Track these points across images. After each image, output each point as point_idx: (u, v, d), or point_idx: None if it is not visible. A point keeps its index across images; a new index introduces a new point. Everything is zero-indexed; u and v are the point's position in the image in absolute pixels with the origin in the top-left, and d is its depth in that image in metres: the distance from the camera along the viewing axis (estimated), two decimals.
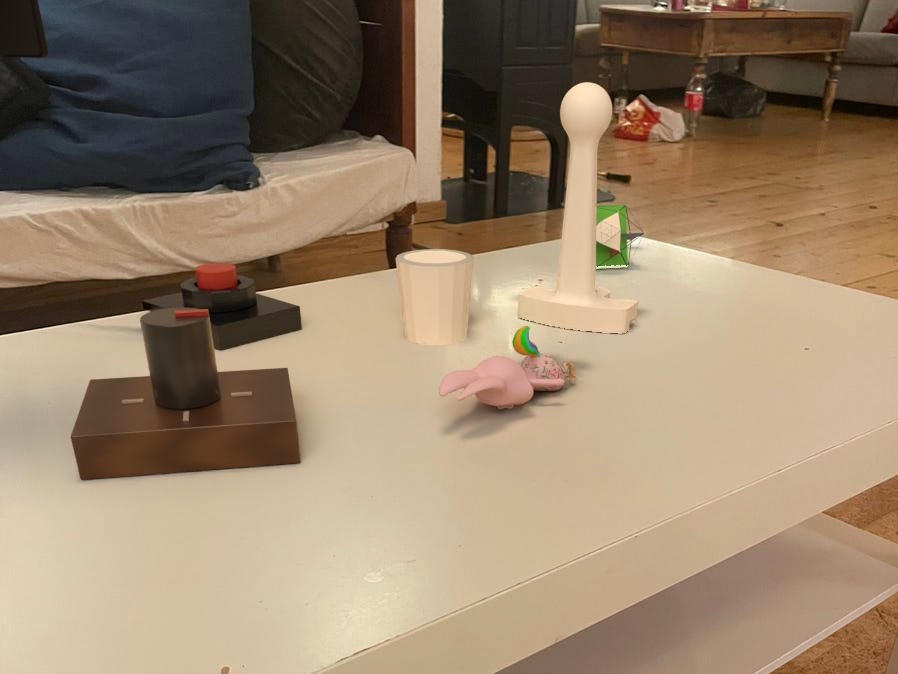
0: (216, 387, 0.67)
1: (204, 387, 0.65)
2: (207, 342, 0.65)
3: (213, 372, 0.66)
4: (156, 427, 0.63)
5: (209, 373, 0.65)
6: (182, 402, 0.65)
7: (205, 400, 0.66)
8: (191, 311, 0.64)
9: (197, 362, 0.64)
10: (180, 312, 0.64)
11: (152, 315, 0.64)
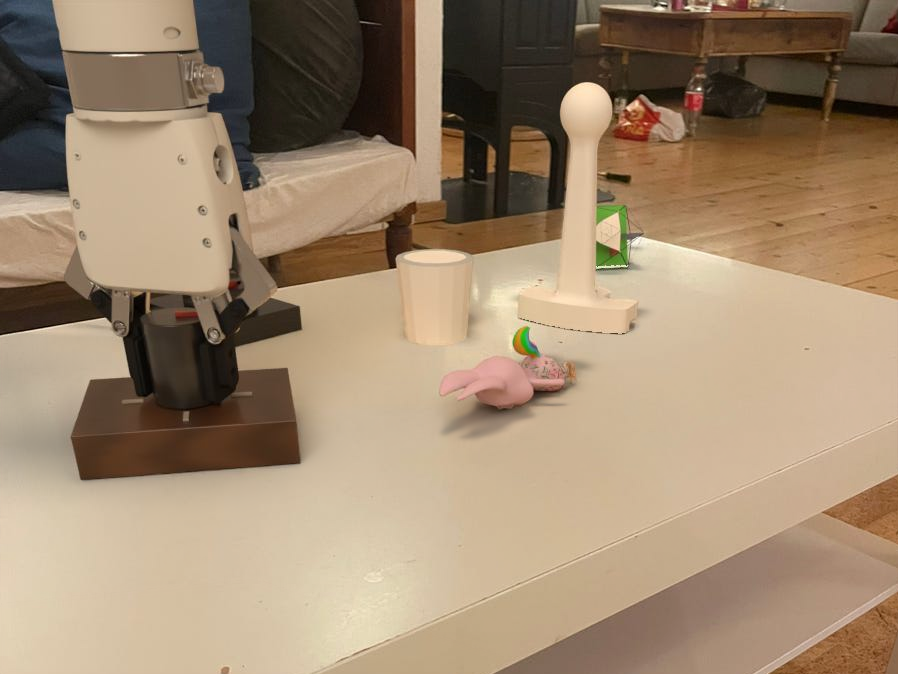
0: None
1: (204, 387, 0.65)
2: None
3: None
4: (156, 427, 0.63)
5: None
6: (182, 402, 0.65)
7: (205, 400, 0.66)
8: (191, 311, 0.64)
9: (197, 362, 0.64)
10: (180, 312, 0.64)
11: (152, 315, 0.64)
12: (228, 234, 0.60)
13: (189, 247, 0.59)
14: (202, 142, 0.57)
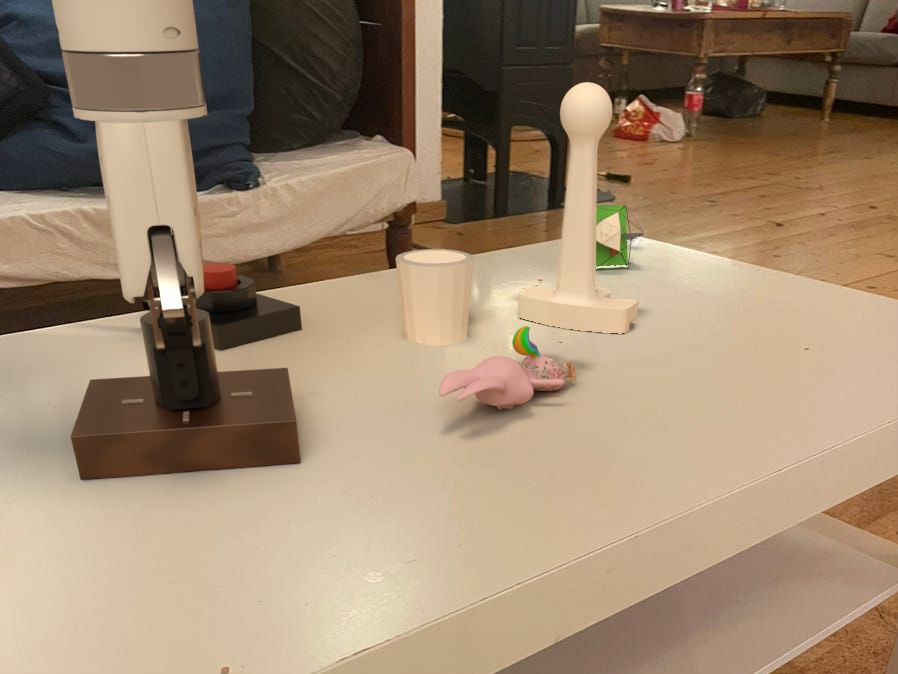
0: None
1: None
2: None
3: None
4: (156, 427, 0.63)
5: None
6: None
7: None
8: None
9: None
10: None
11: None
12: None
13: None
14: None
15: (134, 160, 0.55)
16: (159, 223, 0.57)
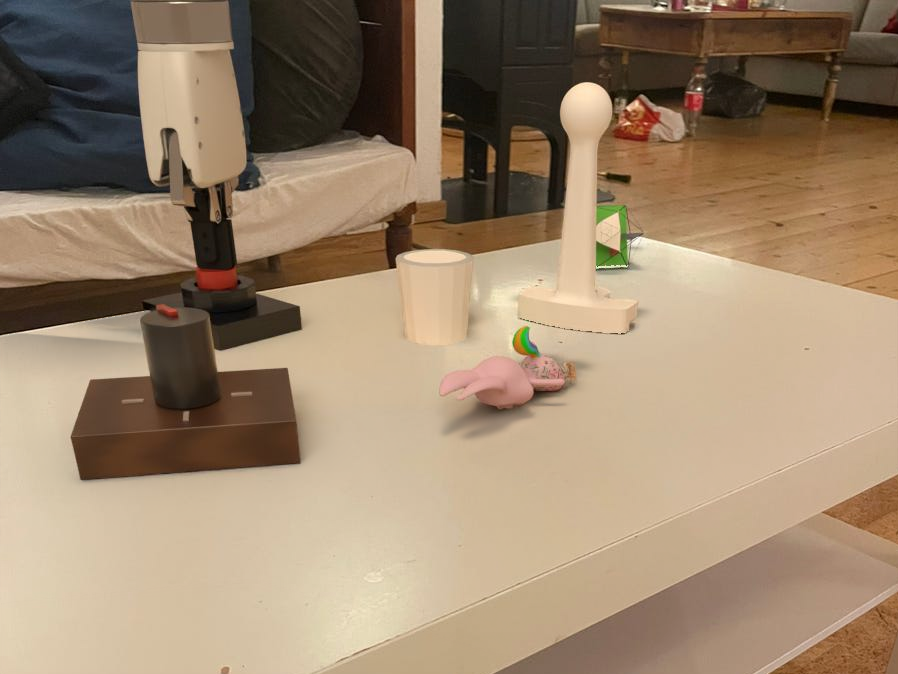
0: None
1: None
2: None
3: None
4: (156, 427, 0.63)
5: None
6: None
7: None
8: (168, 307, 0.65)
9: None
10: (174, 310, 0.65)
11: (178, 322, 0.63)
12: None
13: (239, 138, 0.86)
14: None
15: (153, 78, 0.77)
16: (168, 126, 0.78)
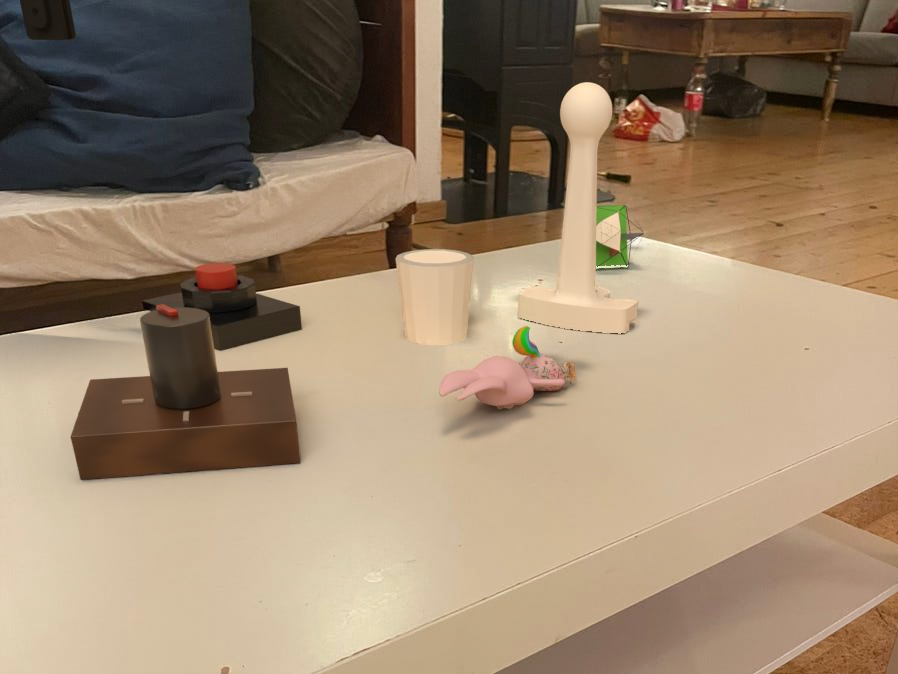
0: None
1: None
2: None
3: None
4: (156, 427, 0.63)
5: None
6: None
7: None
8: (168, 307, 0.65)
9: None
10: (174, 310, 0.65)
11: (178, 322, 0.63)
12: None
13: None
14: None
15: None
16: None
